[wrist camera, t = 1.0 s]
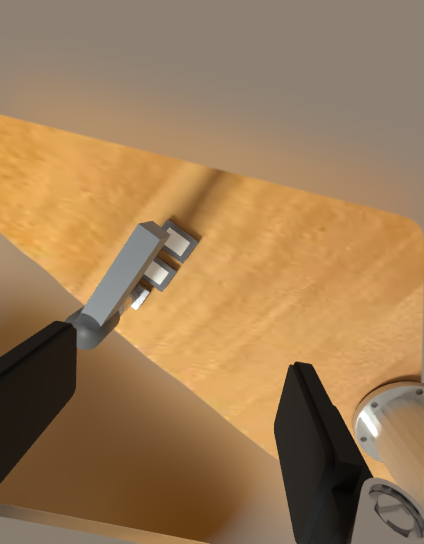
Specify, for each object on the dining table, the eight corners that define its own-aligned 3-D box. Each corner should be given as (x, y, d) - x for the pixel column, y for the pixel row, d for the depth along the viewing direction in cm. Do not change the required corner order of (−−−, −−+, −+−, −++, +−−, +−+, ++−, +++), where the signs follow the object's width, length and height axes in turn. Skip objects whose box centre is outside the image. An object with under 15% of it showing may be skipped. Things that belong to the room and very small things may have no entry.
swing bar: (177, 239, 23) (167, 245, 20) (108, 336, 26) (89, 356, 23) (145, 216, 23) (130, 218, 20) (79, 317, 26) (56, 334, 22)
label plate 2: (198, 241, 31) (198, 242, 30) (183, 262, 32) (182, 263, 31) (168, 219, 31) (167, 219, 30) (153, 240, 31) (152, 241, 31)
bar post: (151, 290, 33) (129, 313, 26) (138, 308, 34) (113, 335, 27) (124, 271, 33) (95, 289, 26) (112, 289, 33) (80, 312, 26)
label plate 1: (177, 271, 32) (176, 272, 31) (162, 290, 33) (161, 292, 32) (147, 249, 32) (146, 250, 31) (133, 269, 32) (132, 271, 32)
